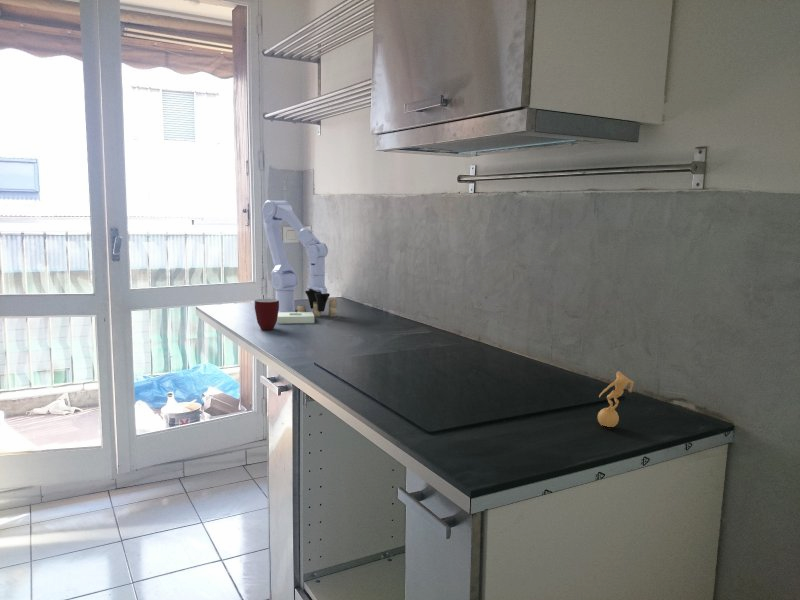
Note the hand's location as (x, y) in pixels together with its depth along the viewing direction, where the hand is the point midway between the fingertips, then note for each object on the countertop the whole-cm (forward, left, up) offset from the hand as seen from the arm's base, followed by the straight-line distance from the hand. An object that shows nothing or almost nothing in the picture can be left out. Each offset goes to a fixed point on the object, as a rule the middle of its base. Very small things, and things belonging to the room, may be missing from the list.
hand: (317, 309), depth 234 cm
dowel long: (0, +6, -2) cm, 6 cm away
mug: (+22, -19, -3) cm, 30 cm away
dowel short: (0, -6, -3) cm, 6 cm away
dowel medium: (0, 0, -2) cm, 2 cm away
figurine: (+128, +49, -3) cm, 137 cm away
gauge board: (+9, -9, -2) cm, 13 cm away
